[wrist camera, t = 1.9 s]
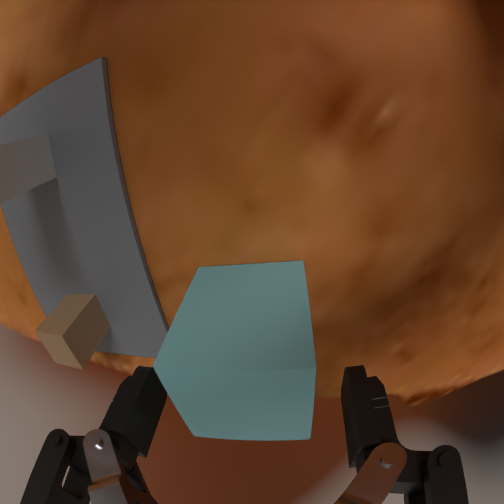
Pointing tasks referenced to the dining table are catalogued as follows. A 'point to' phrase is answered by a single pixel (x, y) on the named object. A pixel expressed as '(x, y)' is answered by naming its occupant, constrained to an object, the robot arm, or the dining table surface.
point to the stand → (77, 222)
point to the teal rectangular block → (243, 353)
